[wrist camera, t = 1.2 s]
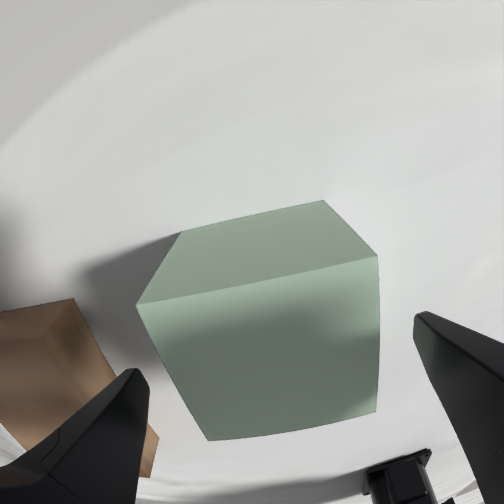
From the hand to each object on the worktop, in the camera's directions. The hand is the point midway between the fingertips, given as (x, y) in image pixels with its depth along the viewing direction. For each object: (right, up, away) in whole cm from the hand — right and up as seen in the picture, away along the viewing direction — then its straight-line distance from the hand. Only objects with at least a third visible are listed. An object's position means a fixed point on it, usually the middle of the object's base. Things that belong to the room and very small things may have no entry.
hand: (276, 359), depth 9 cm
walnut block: (-14, -6, +8) cm, 18 cm away
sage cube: (0, +2, +5) cm, 5 cm away
